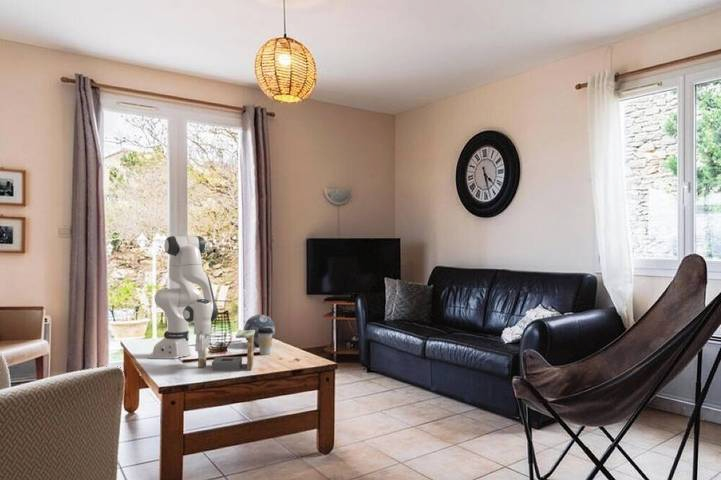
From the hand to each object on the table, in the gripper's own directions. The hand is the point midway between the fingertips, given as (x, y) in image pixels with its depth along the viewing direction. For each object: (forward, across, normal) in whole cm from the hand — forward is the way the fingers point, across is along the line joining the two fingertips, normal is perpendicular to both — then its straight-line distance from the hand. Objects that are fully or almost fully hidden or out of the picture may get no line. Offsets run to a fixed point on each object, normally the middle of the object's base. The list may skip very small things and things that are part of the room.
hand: (202, 356), depth 258 cm
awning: (+6, -1, -22) cm, 23 cm away
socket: (+6, 0, -13) cm, 14 cm away
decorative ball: (+5, +54, -26) cm, 60 cm away
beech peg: (+6, 0, 0) cm, 6 cm away
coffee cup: (+6, +30, -31) cm, 43 cm away
